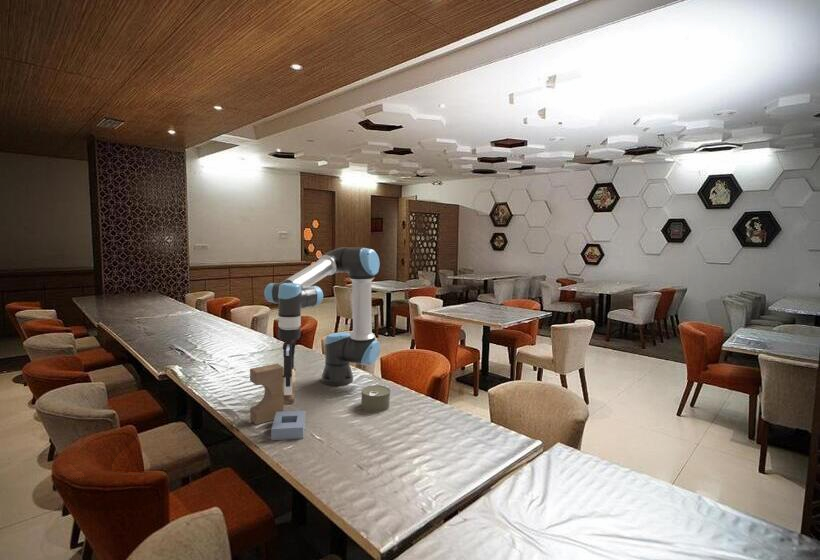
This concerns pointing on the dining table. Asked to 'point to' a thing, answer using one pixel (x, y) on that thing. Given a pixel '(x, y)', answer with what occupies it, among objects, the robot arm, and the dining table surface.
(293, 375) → the peg
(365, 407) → the can
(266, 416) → the decorative block
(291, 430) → the board
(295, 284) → the robot arm
